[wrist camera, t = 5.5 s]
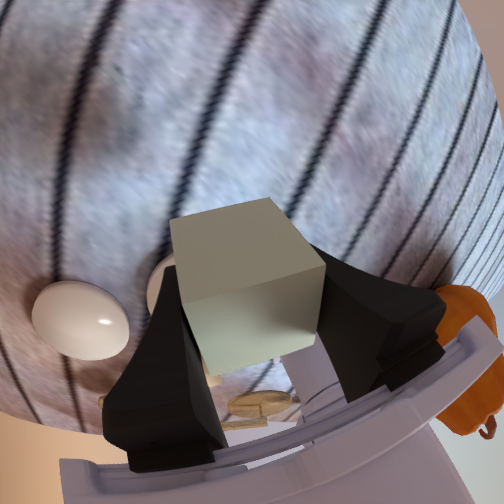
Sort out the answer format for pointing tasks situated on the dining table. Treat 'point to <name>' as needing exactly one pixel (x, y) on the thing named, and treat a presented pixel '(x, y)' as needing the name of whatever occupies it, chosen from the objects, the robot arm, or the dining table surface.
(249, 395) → the balance beam
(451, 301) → the decorative pumpkin
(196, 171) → the dining table surface
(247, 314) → the block
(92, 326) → the dish left
